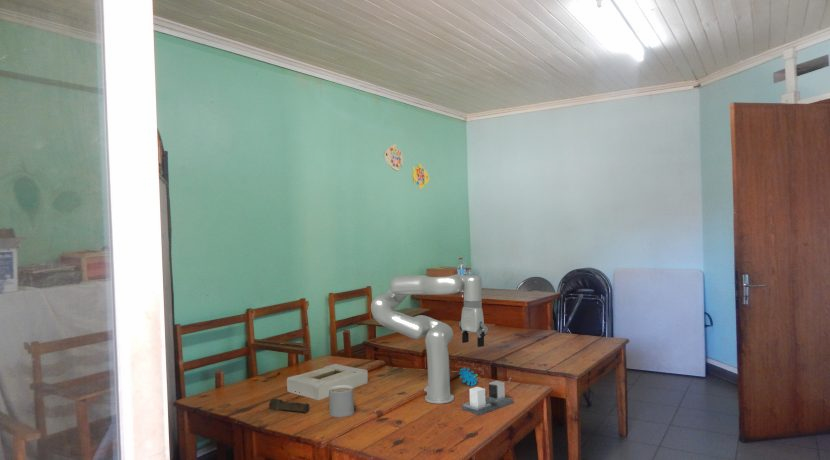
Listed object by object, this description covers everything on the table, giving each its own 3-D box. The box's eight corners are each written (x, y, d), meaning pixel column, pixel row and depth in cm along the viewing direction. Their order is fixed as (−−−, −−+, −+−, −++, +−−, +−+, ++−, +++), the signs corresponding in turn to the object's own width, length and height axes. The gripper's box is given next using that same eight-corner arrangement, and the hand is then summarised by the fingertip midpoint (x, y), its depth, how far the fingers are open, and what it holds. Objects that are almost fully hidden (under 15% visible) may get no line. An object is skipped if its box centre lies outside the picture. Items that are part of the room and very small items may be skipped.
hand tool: (310, 411, 218) (310, 400, 218) (304, 414, 214) (304, 403, 214) (273, 407, 225) (273, 396, 225) (267, 410, 221) (267, 399, 221)
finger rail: (461, 409, 213) (460, 388, 213) (495, 397, 227) (494, 378, 227) (479, 415, 206) (478, 394, 206) (513, 402, 219) (512, 382, 219)
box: (319, 402, 231) (368, 383, 256) (318, 384, 231) (368, 367, 256) (286, 394, 246) (336, 377, 271) (285, 377, 246) (335, 362, 271)
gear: (465, 385, 241) (457, 366, 248) (459, 392, 244) (450, 374, 251) (483, 383, 248) (474, 366, 254) (476, 390, 251) (467, 373, 257)
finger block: (470, 406, 213) (469, 388, 213) (478, 403, 216) (478, 386, 216) (478, 408, 209) (477, 391, 209) (487, 405, 213) (486, 388, 213)
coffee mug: (343, 418, 207) (342, 393, 207) (324, 414, 213) (323, 390, 213) (364, 408, 218) (363, 384, 219) (345, 405, 224) (345, 381, 224)
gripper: (453, 303, 227) (453, 342, 227) (480, 307, 213) (480, 349, 213) (465, 301, 231) (466, 339, 231) (493, 306, 217) (493, 347, 217)
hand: (472, 344), depth 222 cm, fingers open, 9 cm apart
